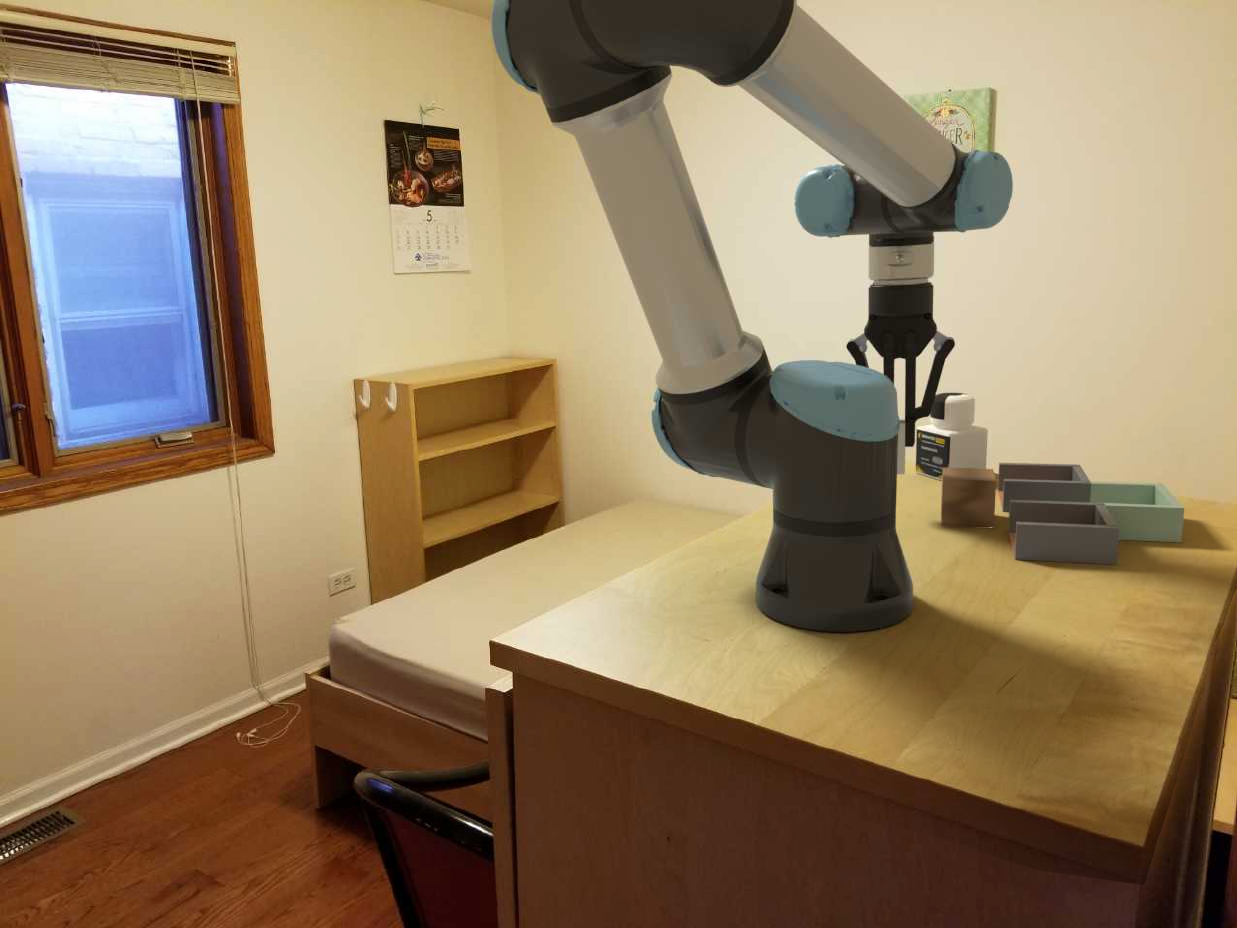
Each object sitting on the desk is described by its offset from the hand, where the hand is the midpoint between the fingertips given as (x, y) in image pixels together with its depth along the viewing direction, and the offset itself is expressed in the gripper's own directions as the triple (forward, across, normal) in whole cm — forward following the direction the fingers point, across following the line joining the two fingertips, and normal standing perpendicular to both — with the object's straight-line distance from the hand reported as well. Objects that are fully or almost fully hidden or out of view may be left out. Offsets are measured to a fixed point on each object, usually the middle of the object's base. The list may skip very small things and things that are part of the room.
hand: (898, 471), depth 122 cm
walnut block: (+6, +8, 0) cm, 10 cm away
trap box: (+6, +22, 0) cm, 23 cm away
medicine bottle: (+7, +7, +23) cm, 24 cm away
